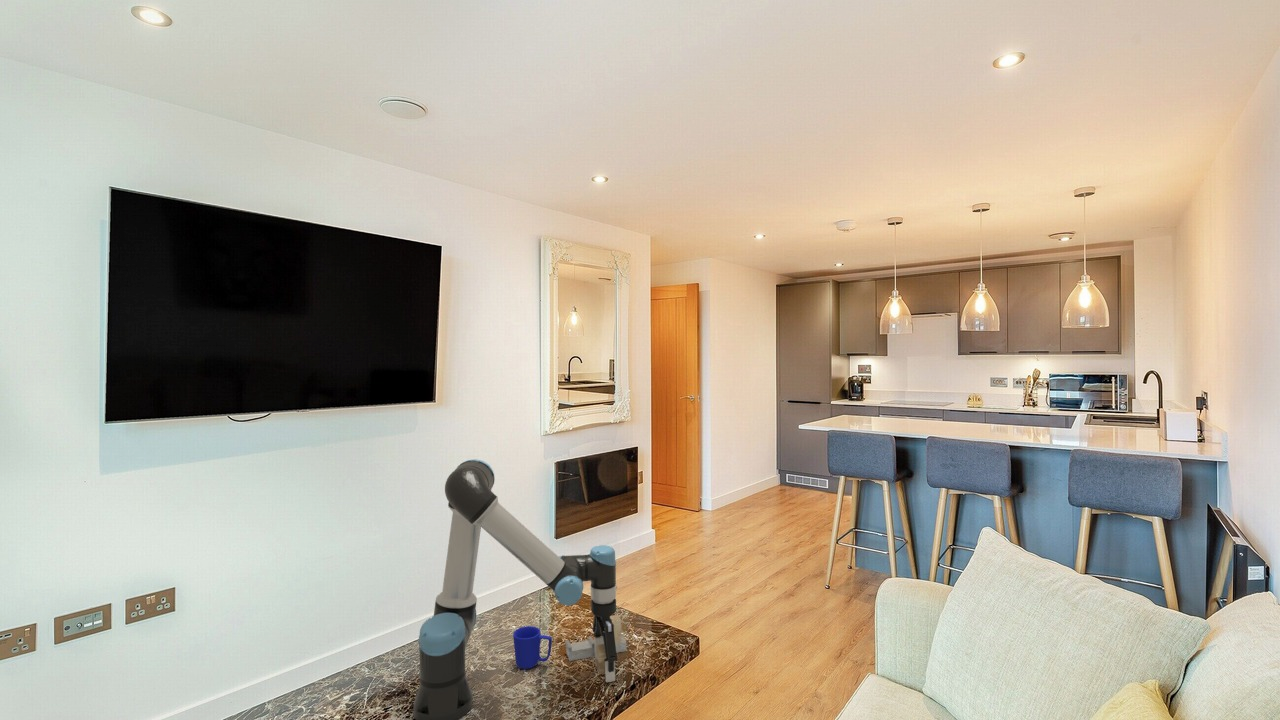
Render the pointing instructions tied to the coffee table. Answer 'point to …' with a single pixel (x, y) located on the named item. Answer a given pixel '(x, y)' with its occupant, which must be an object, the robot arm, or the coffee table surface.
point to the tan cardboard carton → (600, 658)
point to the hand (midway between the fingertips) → (604, 669)
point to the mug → (529, 646)
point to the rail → (587, 647)
